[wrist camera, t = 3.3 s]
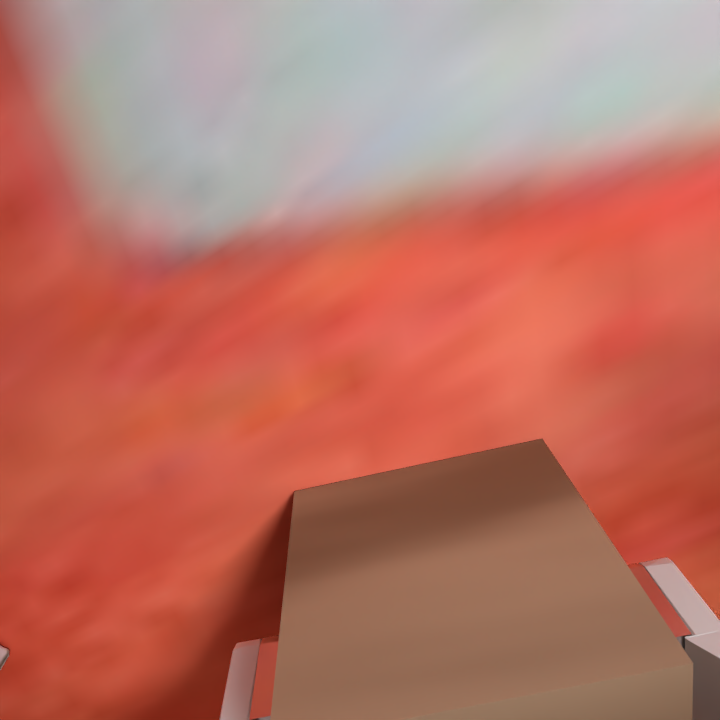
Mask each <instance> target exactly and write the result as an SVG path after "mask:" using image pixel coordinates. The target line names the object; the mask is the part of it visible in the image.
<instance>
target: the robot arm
mask: <svg viewBox="0 0 720 720" xmlns="http://www.w3.org/2000/svg"><path fill="white" fill-rule="evenodd" d="M627 566H628V567H629V568H630V570H631V571H632V573H633V574H634V576H635V577H636V579H637V580H638V582H639V583H640V585H641V586H642V588H643V589H644V591H645V592H646V594H647V595H648V597H649V598H650V600H651V601H652V603H653V604H654V606H655V607H656V609H657V610H658V612H659V613H660V615H661V616H662V618H663V619H664V621H665V622H666V624H667V625H668V626H669V628H670V629H671V631H672V632H673V634H674V635H675V637H676V638H677V640H678V641H679V643H680V644H681V646H682V647H683V649H684V650H685V652H686V653H687V655H688V656H689V658H690V659H691V661H692V662H693V707H692V720H720V620H719V619H718V618H717V617H716V615H715V614H714V613H713V611H712V610H711V609H710V608H709V606H708V605H707V604H706V603H705V601H704V600H703V599H702V598H701V596H700V595H699V594H698V593H697V591H696V590H695V589H694V588H693V586H692V585H691V584H690V583H689V581H688V580H687V579H686V578H685V576H684V575H683V574H682V572H681V571H680V570H679V569H678V567H677V566H676V565H675V564H674V562H673V561H672V560H670V559H668V558H667V557H665V558H660V559H656V560H651V561H646V562H641V563H639V564H637V563H635V564H631V565H627ZM278 641H279V635H276V636H271V637H265V638H261V639H256V640H250V641H244V642H239V643H237V644H236V646H235V648H234V649H233V652H232V657H231V662H230V667H229V672H228V677H227V682H226V688H225V693H224V698H223V703H222V708H221V713H220V718H219V720H270V717H271V707H272V698H273V688H274V679H275V669H276V660H277V650H278Z"/></svg>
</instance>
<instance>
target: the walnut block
mask: <svg viewBox="0 0 720 720" xmlns="http://www.w3.org/2000/svg"><path fill="white" fill-rule="evenodd" d="M692 707H693V662H692V661H691V659H690V658H689V656H688V655H687V653H686V652H685V650H684V649H683V647H682V646H681V644H680V643H679V641H678V640H677V638H676V637H675V635H674V634H673V632H672V631H671V629H670V628H669V626H668V625H667V624H666V622H665V621H664V619H663V618H662V616H661V615H660V613H659V612H658V610H657V609H656V607H655V606H654V604H653V603H652V601H651V600H650V598H649V597H648V595H647V594H646V592H645V591H644V589H643V588H642V586H641V585H640V583H639V582H638V580H637V579H636V577H635V576H634V574H633V573H632V571H631V570H630V568H629V567H628V566H627V564H626V563H625V561H624V560H623V558H622V557H621V555H620V554H619V552H618V551H617V549H616V548H615V546H614V545H613V543H612V542H611V540H610V539H609V537H608V536H607V534H606V533H605V531H604V530H603V528H602V527H601V525H600V524H599V522H598V521H597V519H596V518H595V516H594V515H593V513H592V512H591V510H590V509H589V507H588V506H587V505H586V503H585V502H584V500H583V499H582V497H581V496H580V494H579V493H578V491H577V490H576V488H575V487H574V485H573V484H572V482H571V481H570V479H569V478H568V476H567V475H566V473H565V472H564V470H563V469H562V467H561V466H560V464H559V463H558V461H557V460H556V458H555V457H554V455H553V454H552V452H551V451H550V449H549V448H548V446H547V445H546V444H545V442H544V441H543V439H539V440H534V441H529V442H525V443H520V444H515V445H510V446H506V447H501V448H496V449H491V450H487V451H482V452H477V453H473V454H468V455H463V456H458V457H454V458H449V459H444V460H439V461H435V462H430V463H425V464H420V465H416V466H411V467H406V468H402V469H397V470H392V471H387V472H383V473H378V474H373V475H368V476H364V477H359V478H354V479H350V480H345V481H340V482H335V483H331V484H326V485H321V486H316V487H312V488H307V489H302V490H298V491H294V499H293V508H292V518H291V527H290V537H289V546H288V556H287V565H286V575H285V584H284V594H283V603H282V612H281V622H280V631H279V641H278V650H277V660H276V669H275V679H274V688H273V698H272V707H271V717H270V720H692Z"/></svg>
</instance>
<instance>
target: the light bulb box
mask: <svg viewBox="0 0 720 720" xmlns="http://www.w3.org/2000/svg"><path fill="white" fill-rule="evenodd" d="M8 657H9V649H7V648H5V647H2V646H1V645H0V670H1V668H2V667H3V665H4V663H5V662H6V660H7V658H8Z"/></svg>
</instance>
